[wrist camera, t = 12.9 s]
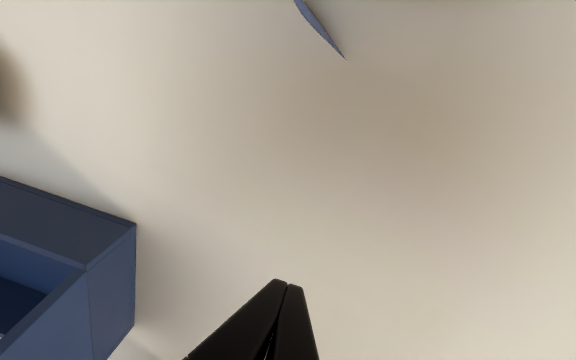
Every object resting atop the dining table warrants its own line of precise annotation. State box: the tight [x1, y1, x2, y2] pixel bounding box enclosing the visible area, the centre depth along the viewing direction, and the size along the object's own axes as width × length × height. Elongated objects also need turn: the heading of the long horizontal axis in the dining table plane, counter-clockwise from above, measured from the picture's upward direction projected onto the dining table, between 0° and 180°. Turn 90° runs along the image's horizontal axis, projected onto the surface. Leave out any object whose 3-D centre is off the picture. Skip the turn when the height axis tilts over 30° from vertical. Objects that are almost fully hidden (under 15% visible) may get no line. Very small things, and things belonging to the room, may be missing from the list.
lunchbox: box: [0, 176, 136, 360], centre depth 27 cm, size 19×12×5 cm, turn 77°
